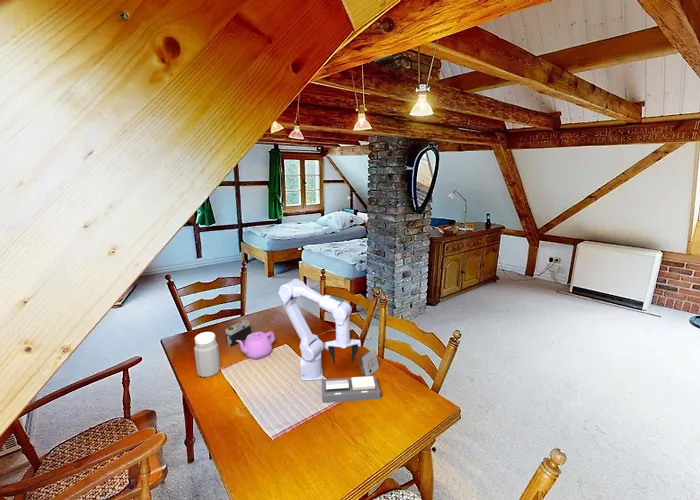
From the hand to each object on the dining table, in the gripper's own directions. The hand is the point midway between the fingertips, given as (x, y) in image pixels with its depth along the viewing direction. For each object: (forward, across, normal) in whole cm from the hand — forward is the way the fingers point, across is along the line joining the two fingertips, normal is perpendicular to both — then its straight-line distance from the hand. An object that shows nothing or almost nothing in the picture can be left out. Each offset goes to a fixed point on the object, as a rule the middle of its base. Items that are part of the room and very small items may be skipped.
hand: (343, 361), depth 142 cm
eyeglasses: (+11, -1, +37) cm, 38 cm away
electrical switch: (+11, +12, +8) cm, 18 cm away
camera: (+10, -54, +44) cm, 70 cm away
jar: (+10, -60, +15) cm, 63 cm away
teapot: (+10, -41, +29) cm, 51 cm away
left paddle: (+7, -3, -6) cm, 10 cm away
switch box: (+10, +2, -6) cm, 12 cm away
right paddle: (+8, +7, -6) cm, 12 cm away
